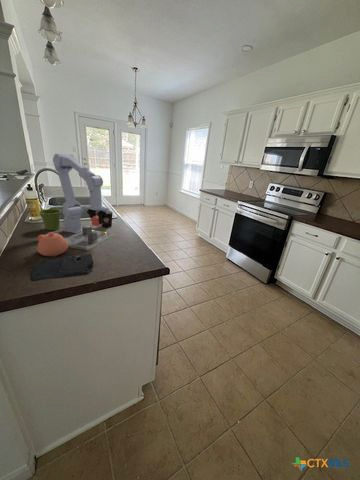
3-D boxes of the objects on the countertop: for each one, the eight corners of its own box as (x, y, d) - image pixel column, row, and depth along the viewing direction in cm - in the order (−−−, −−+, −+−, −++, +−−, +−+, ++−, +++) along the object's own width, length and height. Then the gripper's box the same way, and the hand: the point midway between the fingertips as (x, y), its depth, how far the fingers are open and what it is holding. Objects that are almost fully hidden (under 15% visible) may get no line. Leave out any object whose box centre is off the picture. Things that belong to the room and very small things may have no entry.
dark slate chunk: (37, 264, 86) (35, 254, 84) (93, 258, 95) (92, 249, 93) (28, 283, 73) (26, 271, 71) (94, 274, 82) (93, 264, 80)
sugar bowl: (55, 260, 89) (52, 239, 86) (28, 255, 91) (24, 234, 88) (74, 249, 100) (72, 230, 97) (50, 245, 103) (46, 226, 99)
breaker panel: (57, 244, 104) (56, 241, 103) (87, 231, 126) (87, 228, 125) (87, 250, 101) (87, 246, 100) (113, 235, 123) (113, 232, 122)
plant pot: (36, 229, 122) (33, 211, 118) (53, 224, 132) (50, 208, 128) (52, 233, 119) (49, 214, 115) (67, 227, 130) (65, 210, 126)
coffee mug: (115, 225, 142) (114, 211, 138) (110, 228, 134) (109, 214, 130) (99, 223, 143) (98, 209, 139) (93, 227, 135) (92, 212, 131)
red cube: (91, 225, 111) (91, 217, 110) (96, 223, 115) (95, 215, 113) (98, 226, 111) (97, 218, 109) (102, 224, 114) (102, 216, 113)
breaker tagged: (88, 239, 109) (87, 233, 108) (92, 237, 113) (92, 231, 112) (93, 240, 109) (92, 234, 107) (97, 238, 112) (97, 232, 111)
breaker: (82, 233, 118) (82, 227, 116) (87, 231, 121) (86, 225, 120) (87, 234, 117) (86, 228, 116) (91, 232, 121) (91, 226, 119)
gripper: (78, 198, 106) (81, 223, 111) (103, 201, 103) (104, 227, 108) (87, 196, 112) (89, 220, 117) (111, 199, 109) (112, 223, 114)
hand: (97, 223), depth 113 cm, fingers closed on red cube, 4 cm apart
